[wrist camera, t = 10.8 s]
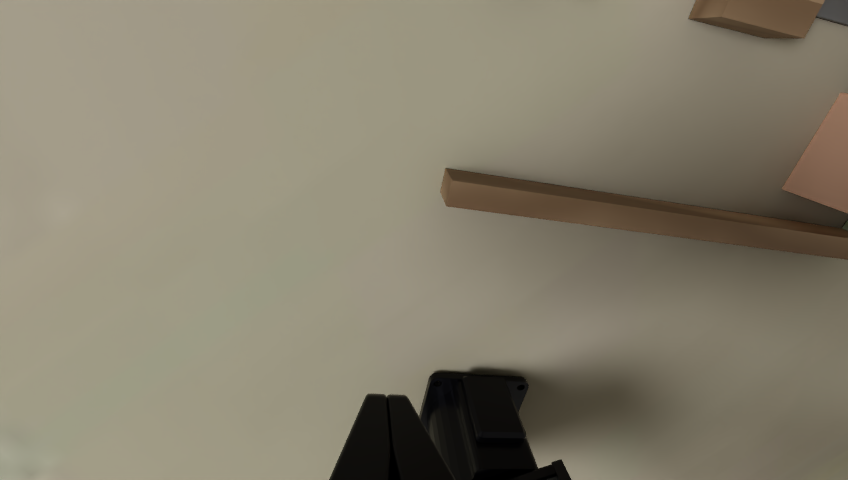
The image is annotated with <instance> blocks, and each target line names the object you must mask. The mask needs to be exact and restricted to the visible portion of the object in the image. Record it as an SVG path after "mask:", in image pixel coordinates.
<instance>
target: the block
mask: <svg viewBox="0 0 848 480" xmlns="http://www.w3.org/2000/svg"><path fill="white" fill-rule="evenodd" d="M782 189H783V190H785V191H788V192H791V193H793V194H796V195H799V196H802V197H804V198H807V199H810V200H812V201H815V202H818V203H820V204H823V205H826V206H829V207H831V208H834V209H837V210H839V211H842V212H845V213H847V214H848V93H840V94H839V96H838V98H837V99H836V101H835V103H834V104H833V106H832V107H831V109H830V111H829V112H828V114H827V116H826V117H825V119H824V120H823V122H822V124H821V125H820V127H819V129H818V130H817V132H816V133H815V135H814V137H813V138H812V140H811V142H810V143H809V145H808V147H807V148H806V150H805V151H804V153H803V155H802V156H801V158H800V160H799V161H798V163H797V164H796V166H795V168H794V169H793V171H792V173H791V174H790V176H789V177H788V179H787V181H786V182H785V184H784V186H783V187H782Z"/></svg>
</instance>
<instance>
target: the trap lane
mask: <svg viewBox="0 0 848 480" xmlns="http://www.w3.org/2000/svg"><path fill="white" fill-rule="evenodd" d="M815 17H817V18H821V19H824V20H828V21H832V22H835V23H839V24H842V25H846V26H848V0H696V2H695V4H694V7H693V9H692V11H691V14H690V16H689V18H688V19H692V20H696V21H699V22H703V23H707V24H711V25H715V26H719V27H723V28H727V29H731V30H735V31H739V32H743V33H747V34H750V35H754V36H758V37H762V38H805V36H806V34H807V32H808V30H809V28H810V27H811V25H812V23H813V21H814V19H815ZM440 193H441V195H442V197H443V199H444V202H445V204H446V206H448V207H456V208H464V209H471V210H479V211H486V212H494V213H501V214H509V215H516V216H524V217H531V218H539V219H546V220H554V221H561V222H569V223H576V224H584V225H591V226H599V227H606V228H614V229H621V230H629V231H636V232H644V233H652V234H659V235H667V236H674V237H682V238H689V239H697V240H704V241H712V242H719V243H727V244H734V245H742V246H749V247H757V248H764V249H772V250H779V251H787V252H794V253H802V254H809V255H817V256H825V257H832V258H840V259H847V260H848V220H847V222H846V223H845V224H844V226H843V227H842V228H836V227H830V226H823V225H816V224H810V223H803V222H797V221H790V220H783V219H777V218H770V217H764V216H757V215H750V214H744V213H737V212H731V211H724V210H717V209H711V208H704V207H698V206H691V205H684V204H678V203H671V202H665V201H658V200H651V199H645V198H638V197H631V196H625V195H618V194H612V193H605V192H598V191H592V190H585V189H579V188H572V187H565V186H559V185H552V184H546V183H539V182H532V181H526V180H519V179H513V178H506V177H499V176H493V175H486V174H480V173H473V172H466V171H460V170H453V169H447V168H445V173H444V177H443V182H442V187H441V191H440Z"/></svg>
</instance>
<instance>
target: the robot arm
mask: <svg viewBox="0 0 848 480" xmlns="http://www.w3.org/2000/svg"><path fill="white" fill-rule="evenodd" d="M436 381H438V382H436ZM527 390H528V383H527V381H526V379H525V378H523V377H509V376H490V375H470V374H451V373H434V374H432V375H431V376H430V377H429V380H428V384H427V388H426V392H425V396H424V400H423V403H422V407H421V411H420V415H419V416H418V414H417V413H416V411H415V409H414V407H413V406H412V404H411V402H410V401H409V399H408V397H407V396H405V395H391V394H390V395H388V396H387V397H386V395H384V394H367V396H366V397H365V399H364V402H363V404H362V406H361V408H360V411H359V413H358V415H357V418H356V420H355V422H354V424H353V427H352V429H351V431H350V434H349V436H348V438H347V440H346V443H345V445H344V447H343V450H342V452H341V454H340V456H339V459H338V461H337V463H336V466H335V468H334V470H333V472H332V475H331V477H330V479H329V480H571V478H570V476H569V474H568V472H567V470H566V468H565V466H564V464H563V462H562V460H557V461H554V462H552V465H548V466H545V467H542V468H539V469H538V467H537V464H536V462H535V459H534V456H533V454H532V451H531V448H530V446H529V443H528V441H527V438H526V432H525V430H524V427H523V425H522V422H521V419H520V417H519V414H518V411H519V409H520V406H521V404H522V402H523V399H524V397H525V394H526V392H527Z"/></svg>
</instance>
